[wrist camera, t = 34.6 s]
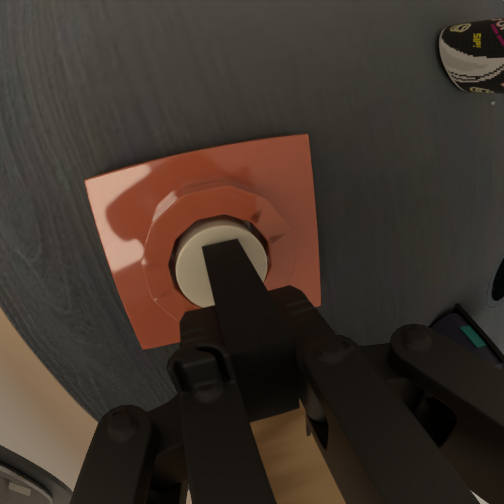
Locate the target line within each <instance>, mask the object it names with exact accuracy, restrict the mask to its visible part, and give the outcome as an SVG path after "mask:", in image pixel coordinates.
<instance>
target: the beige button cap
mask: <svg viewBox="0 0 504 504" xmlns="http://www.w3.org/2000/svg"><path fill="white" fill-rule="evenodd" d="M237 238H238V240H239V242H240V244H241V245H242V247H243V249H244V250H245V252H246V254H247V256H248V257H249V259H250V261H251V262H252V264H253V266H254V268H255V269H256V271H257V273H258V275H259V276H260V278H261V280H262V281H263V282H264V280H265V277H266V273H267V257H266V253H265V250H264V248H263V246H262V244H261V243H260V242H259V240H258V239H257V238H256V236H255V235H254V234H253V233H252V231H251V230H250V229H249V227H248V226H247V225H246V224H245V223H243V222H242V221H241V220H239V219H237V218H235V217H232V216H229V215H226V214H223V215H219V216H214V217H209V218H205V219H200V220H196V221H195V222H194V223H193V224H192V225H191V226H190V227H189V228H188V229H186V230H185V231H184V232H183V233H182V234H181V235H180V237H179V239H178V242H177V246H176V252H175V270H176V278H177V282H178V285H179V287H180V289H181V291H182V292H183V293H184V295H185V296H186V297H187V298H188V299H189V300H190V301H192V302H193V303H195V304H196V305H198V306H201V307H203V308H204V307H208V306H212V305H215V303H214V299H213V295H212V291H211V286H210V282H209V278H208V274H207V269H206V265H205V260H204V256H203V251H202V246H206V245H211V244H215V243H220V242H224V241H228V240H233V239H237Z"/></svg>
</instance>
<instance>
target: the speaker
mask: <svg viewBox="0 0 504 504" xmlns="http://www.w3.org/2000/svg"><path fill="white" fill-rule="evenodd" d="M456 309H457V312H458V313H450V314H449V315H447V316H445V317H444V318H442V319H441V320H439V321H437V322H436V323H435V324H434V325H433V326H432V327H431V328H432V329H433V330H435V331H437V332H438V333H440V334H442V335H444V336H445V337H447V338H449V339H451V340H452V341H454V342H456V343H457V344H459V345H461V346H462V347H464V348H466V349H468V350H469V351H471V352H473V353H474V354H476V355H478V356H479V357H481V358H483V359H484V360H486V361H488V362H490V363H491V364H493V365H495V366H496V367H498V368H500V369H501V370H503V371H504V355H503V354H502V352H501V351H500V350H499V349H498V347H497V346H496V345H495V344H494V343H493V342H492V340H491V339H490V338H489V337H488V336H487V335H486V333H485V332H484V331H483V330H482V329H481V328H480V327H479V326H478V324H477V323H476V322H475V321H474V320H473V319H472V318H471V317H470V316H469V315H468V313H467V312H466V311H465V310H464V309H463V308H462V307H461V306H460V305H459V304H457V305H456Z"/></svg>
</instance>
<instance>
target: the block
mask: <svg viewBox="0 0 504 504" xmlns="http://www.w3.org/2000/svg"><path fill="white" fill-rule="evenodd" d="M299 402H300V408H298V409H295V410H292V411H289V412H286V413H283V414H279V415H276V416H272V417H269V418H265V419H262V420H258V421H254V422H251V423H250V425H251V428H252V432H253V435H254V438H255V441H256V444H257V447H258V450H259V453H260V456H261V459H262V462H263V465H264V468H265V471H266V474H267V477H268V480H269V483H270V486H271V488H272V491H273V494H274V497H275V500H276V502H277V504H346V502H345V500H344V498H343V496H342V495H341V493H340V490H339V488H338V486H337V484H336V482H335V480H334V478H333V476H332V474H331V472H330V470H329V468H328V466H327V464H326V462H325V460H324V458H323V456H322V454H321V452H320V450H319V448H318V446H317V444H316V442H315V439H314V437H313V435H312V433H311V436H308V437H307V434H306V418H305V409H304V407H303V405H302V403H301V401H300V399H299Z"/></svg>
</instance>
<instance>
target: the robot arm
mask: <svg viewBox="0 0 504 504" xmlns="http://www.w3.org/2000/svg"><path fill="white" fill-rule="evenodd" d="M202 251H203V256H204V260H205V265H206V269H207V274H208V278H209V282H210V286H211V291H212V295H213V299H214V303H215V305H212V306H208V307H204V308H200V309H195V310H191V311H186V312H185V313H184V315H183V316H182V318H181V320H180V322H179V328H180V342H181V348H180V349H179V350H177V351H176V352H175V353H174V354H173V355H172V356H171V358H170V359H169V360H168V364H167V368H166V369H167V371H168V373H169V375H170V377H171V380H172V382H173V384H174V386H175V388H176V390H177V392H178V393H177V395H176V396H175V397H174V398H172V399H171V400H170V401H169V402H167V403H165V404H164V405H162V406H159V407H157V408H155V409H153V410H150V411H148V412H146V411H144V410H143V409H142V408H141V407H138V406H134V405H122V406H119V407H116V408H114V409H111V410H110V411H109V412H107V413H106V414H105V415H104V416H103V417H102V419H101V420H100V422H99V423H98V426H97V428H96V431H95V433H94V436H93V438H92V441H91V444H90V446H89V449H88V452H87V454H86V457H85V460H84V462H83V465H82V468H81V471H80V474H79V477H78V480H77V482H76V485H75V488H74V491H73V494H72V498H71V501H70V504H186V498H187V491H188V483H189V487H190V494H191V499H192V504H277V502H276V500H275V497H274V494H273V491H272V488H271V486H270V483H269V480H268V477H267V474H266V471H265V468H264V465H263V462H262V459H261V456H260V453H259V450H258V447H257V444H256V441H255V438H254V435H253V432H252V428H251V425H250V423H251V422H254V421H258V420H262V419H265V418H269V417H272V416H276V415H279V414H283V413H286V412H289V411H292V410H295V409H298V408H300V402H299V399H300V401H301V403H302V405H303V407H304V409H305V418H306V434H307V437H308V436H311V433H312V435H313V437H314V439H315V442H316V444H317V446H318V448H319V450H320V452H321V454H322V456H323V458H324V460H325V462H326V464H327V466H328V468H329V470H330V472H331V474H332V476H333V478H334V480H335V482H336V484H337V486H338V488H339V490H340V493H341V495H342V496H343V498H344V500H345V502H346V504H480V503H479V501H478V500H477V499H476V497H475V496H474V495H473V493H472V492H474V493H475V494H476V495H478V496H479V497H480V498H482V499H483V500H485V501H486V502H487V503H489V504H504V371H503V370H501V369H500V368H498V367H496V366H495V365H493V364H491V363H490V362H488V361H486V360H484V359H483V358H481V357H479V356H478V355H476V354H474V353H473V352H471V351H469V350H468V349H466V348H464V347H462V346H461V345H459V344H457V343H456V342H454V341H452V340H451V339H449V338H447V337H445V336H444V335H442V334H440V333H438V332H437V331H435V330H433V329H432V328H429V327H427V326H424V325H418V324H410V325H404V326H402V327H400V328H398V329H396V330H395V332H394V333H393V334H392V336H391V341H390V343H385V344H378V345H370V346H358V345H357V344H356V343H355V342H354V341H352V340H351V339H350V338H348V337H345V336H342V335H336V334H335V333H334V331H333V330H332V329H331V328H330V326H329V325H328V324H327V322H326V321H325V320H324V318H323V317H322V316H321V315H320V313H319V312H318V311H317V309H316V308H314V306H313V304H312V303H311V302H310V301H309V299H308V298H307V297H306V295H305V294H304V293H303V291H301V290H299V289H297V288H295V287H293V286H291V285H288V286H284V287H280V288H276V289H273V290H269V291H268V290H267V288H266V287H265V285H264V283H263V281H262V280H261V278H260V276H259V275H258V273H257V271H256V269H255V268H254V266H253V264H252V262H251V261H250V259H249V257H248V256H247V254H246V252H245V250H244V249H243V247H242V245H241V244H240V242H239V240H238V238H237V239H233V240H228V241H224V242H220V243H215V244H211V245H206V246H202ZM470 490H471V491H472V492H471V491H470ZM52 499H53V495H52V493H51V492H50V491H49V490H48V489H47V488H46V487H45V486H43V485H42V484H41V483H39V482H38V481H36V480H35V479H33V478H32V477H30V476H28V475H27V474H25V473H23V472H22V471H20V470H18V469H16V468H14V467H12V466H10V465H9V464H7V463H4V462H2V461H0V504H52Z"/></svg>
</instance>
